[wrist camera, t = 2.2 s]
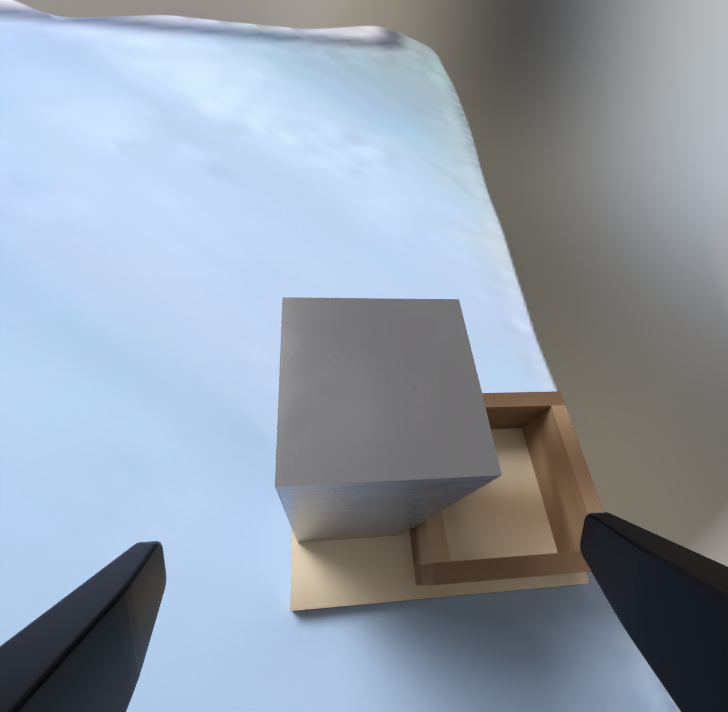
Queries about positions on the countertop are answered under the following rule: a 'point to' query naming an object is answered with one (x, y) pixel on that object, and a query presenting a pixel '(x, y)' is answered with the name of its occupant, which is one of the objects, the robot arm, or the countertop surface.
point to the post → (377, 416)
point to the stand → (473, 524)
